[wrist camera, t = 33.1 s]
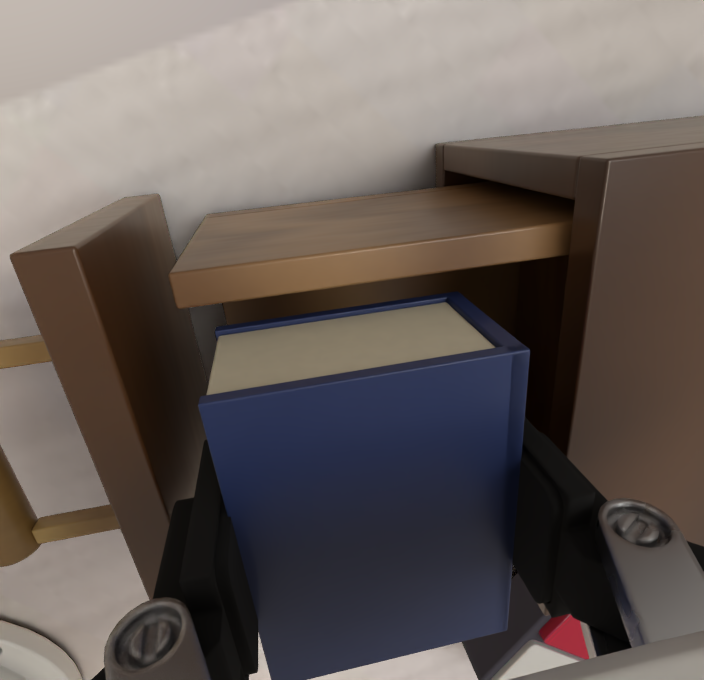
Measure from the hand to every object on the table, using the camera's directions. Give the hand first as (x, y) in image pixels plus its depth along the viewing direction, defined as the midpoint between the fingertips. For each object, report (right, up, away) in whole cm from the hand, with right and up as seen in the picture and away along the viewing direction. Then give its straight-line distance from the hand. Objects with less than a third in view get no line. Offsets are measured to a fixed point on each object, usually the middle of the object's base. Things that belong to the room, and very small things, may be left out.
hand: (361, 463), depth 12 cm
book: (0, 0, +1) cm, 1 cm away
